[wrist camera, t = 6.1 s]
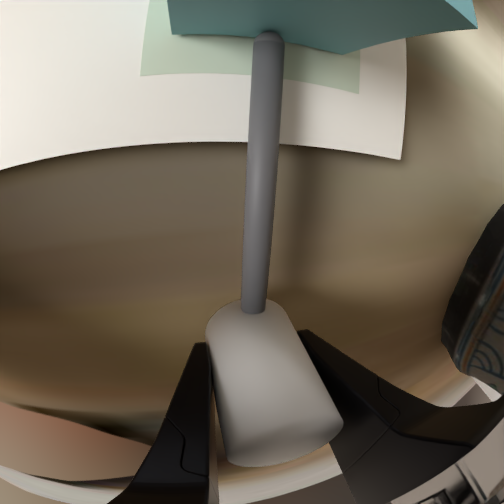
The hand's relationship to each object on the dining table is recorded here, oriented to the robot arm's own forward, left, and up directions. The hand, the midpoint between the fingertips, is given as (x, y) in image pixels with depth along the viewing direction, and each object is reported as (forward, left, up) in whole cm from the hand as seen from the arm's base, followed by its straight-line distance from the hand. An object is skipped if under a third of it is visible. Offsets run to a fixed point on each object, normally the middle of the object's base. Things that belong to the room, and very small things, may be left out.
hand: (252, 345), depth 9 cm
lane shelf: (+17, +4, -2) cm, 18 cm away
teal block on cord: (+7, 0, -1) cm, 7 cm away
